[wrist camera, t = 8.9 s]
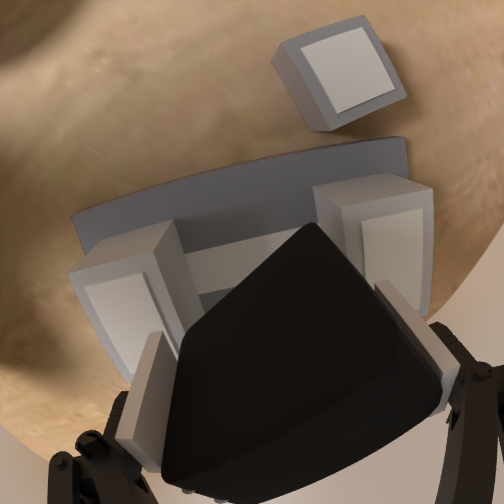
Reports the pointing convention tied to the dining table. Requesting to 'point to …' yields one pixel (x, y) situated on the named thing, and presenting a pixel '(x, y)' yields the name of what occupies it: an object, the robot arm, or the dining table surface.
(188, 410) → the electronic device
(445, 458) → the robot arm
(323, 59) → the module
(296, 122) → the dining table surface
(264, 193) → the board
